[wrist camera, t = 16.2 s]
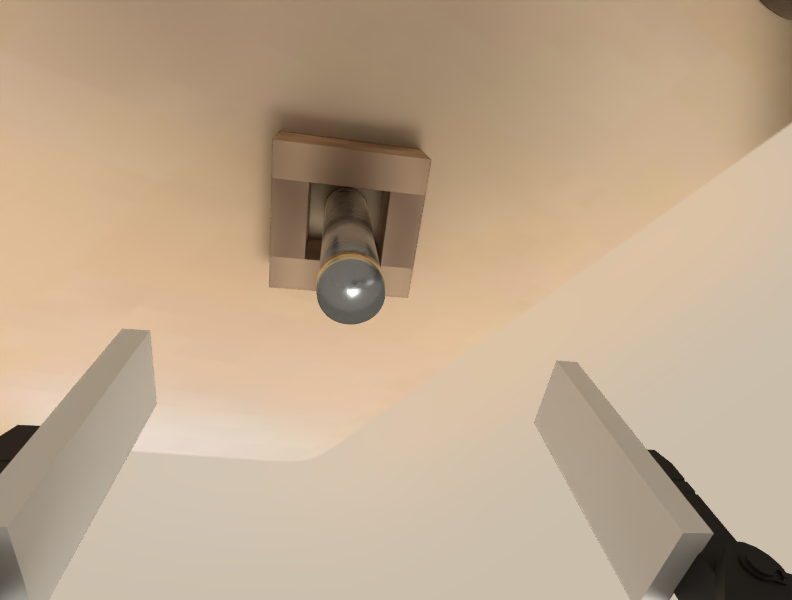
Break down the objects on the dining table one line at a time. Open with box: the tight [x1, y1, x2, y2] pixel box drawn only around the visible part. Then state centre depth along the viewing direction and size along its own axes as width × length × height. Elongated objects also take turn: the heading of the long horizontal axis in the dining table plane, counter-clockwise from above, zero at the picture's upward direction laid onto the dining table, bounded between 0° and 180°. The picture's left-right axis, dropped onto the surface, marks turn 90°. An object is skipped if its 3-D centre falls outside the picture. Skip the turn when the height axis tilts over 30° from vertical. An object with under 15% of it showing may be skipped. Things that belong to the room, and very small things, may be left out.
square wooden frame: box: [269, 131, 431, 298], centre depth 31 cm, size 9×9×4 cm
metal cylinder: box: [316, 188, 385, 324], centre depth 27 cm, size 3×3×14 cm
